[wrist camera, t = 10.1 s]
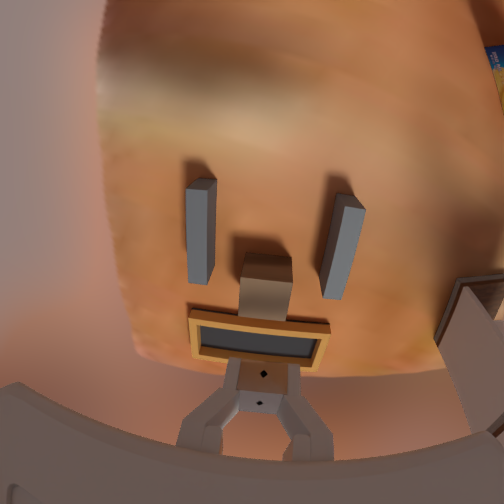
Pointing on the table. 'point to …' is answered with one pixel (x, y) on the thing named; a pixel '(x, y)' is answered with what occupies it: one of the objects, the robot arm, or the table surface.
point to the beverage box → (497, 68)
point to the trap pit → (257, 339)
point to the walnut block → (265, 287)
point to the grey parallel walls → (336, 252)
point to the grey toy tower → (476, 350)
